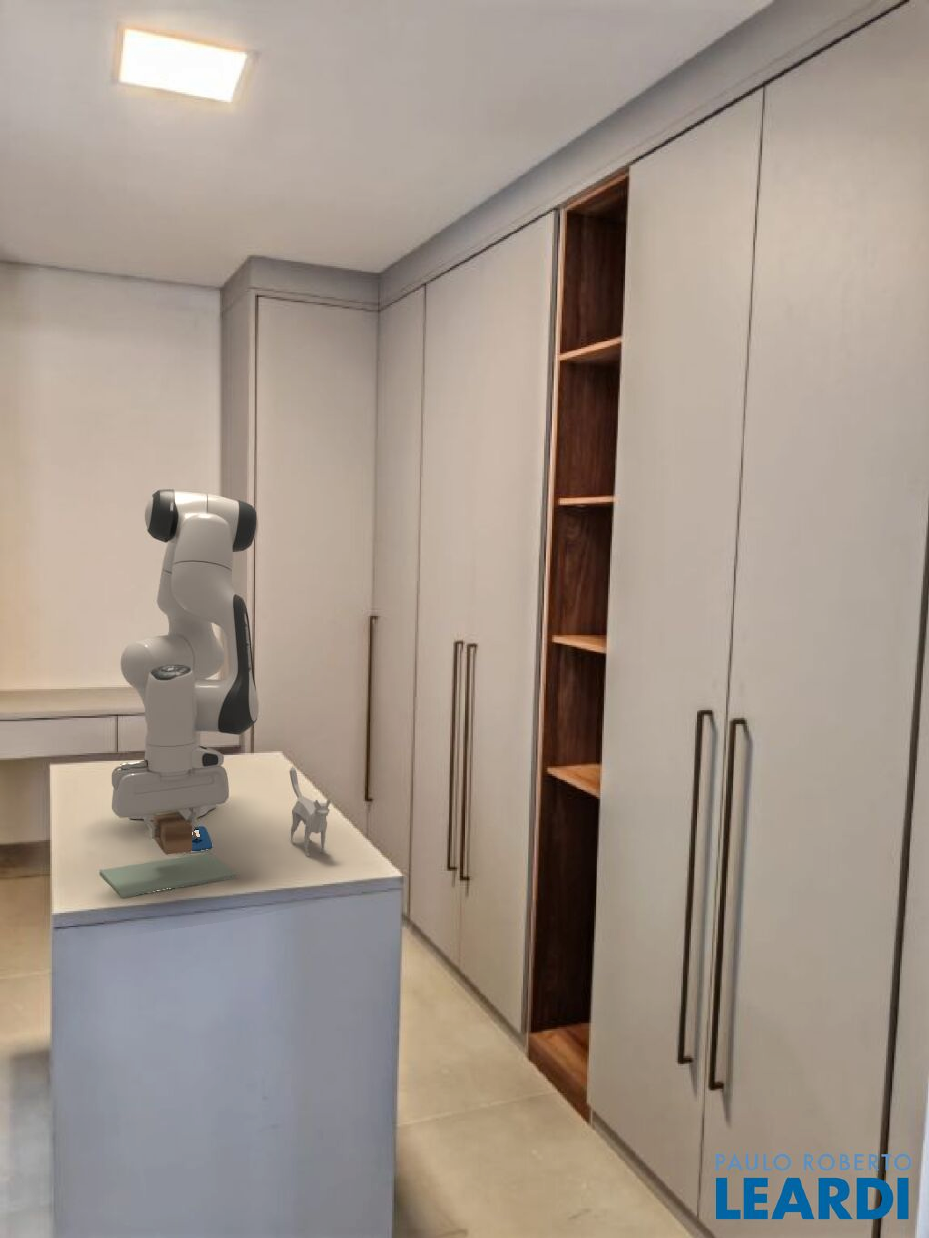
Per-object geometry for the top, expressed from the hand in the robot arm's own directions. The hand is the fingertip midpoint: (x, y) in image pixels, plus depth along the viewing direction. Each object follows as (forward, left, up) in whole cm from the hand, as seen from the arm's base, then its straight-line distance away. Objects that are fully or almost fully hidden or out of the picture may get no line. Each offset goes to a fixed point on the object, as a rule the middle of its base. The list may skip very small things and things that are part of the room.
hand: (171, 834), depth 180 cm
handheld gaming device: (-18, +9, -8) cm, 22 cm away
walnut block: (0, 0, -2) cm, 2 cm away
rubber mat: (0, -1, -8) cm, 8 cm away
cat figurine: (-3, +28, -8) cm, 29 cm away
